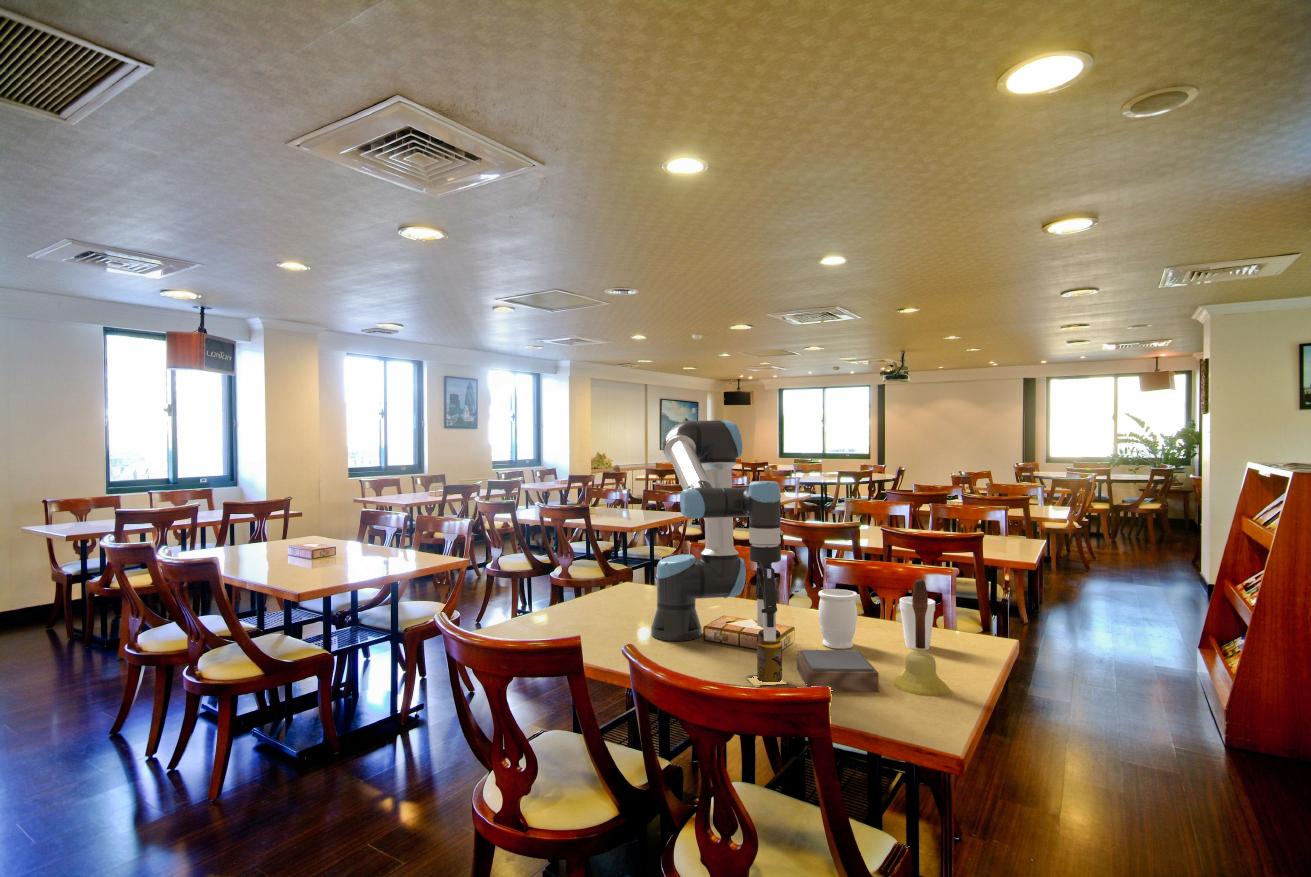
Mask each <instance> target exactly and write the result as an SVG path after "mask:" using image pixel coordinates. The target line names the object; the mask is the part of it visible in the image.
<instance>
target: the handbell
mask: <svg viewBox="0 0 1311 877" xmlns="http://www.w3.org/2000/svg"><path fill="white" fill-rule="evenodd" d="M911 595H912V596H911V597H912V605H913V610H914V613H915V637H916V647H915V649H913V651H911V652H909V653H908V654H907V655H906V657H905V664H904V665H905V670H904V672H902V673H901V674H900V675H899V676H897V677H896V678H895V679H894V681H893V683H892V684H893V686H894V687H895V688H896V689H897V690H900V691H902V692H904V693H908V694H911V695H916V696H926V697H937V696H943V695H946V694H948V693H949V692H950V689H949V686H948V685H947V683H945V681H943V680H942V679H941V678H940V677H939V676H938V674H937V665H936V664H937V663H936V659H935V657H934V656H933V655H932V654H930V653H929V652H928V650H926V648H925V615H926V612H927V608H928V599H929V598H928V590H927V586H926V581H925V580H923V579H915V580H914V583H913V589H912V593H911Z"/></svg>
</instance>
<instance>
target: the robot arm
mask: <svg viewBox="0 0 1311 877" xmlns="http://www.w3.org/2000/svg"><path fill="white" fill-rule="evenodd" d="M662 450H663V453H664V454H663V455H664V457H665V459H666V460H667V461H668V462H669V463H671V464H672V467H673V469H674V471H675V474H676V477H677V479H678V481H679V483H680V486H681V488H682V490H681V491H680V495H679V496H680V499H679V507H680V513H681V515H682V516H683V517H684V518H686V519H696V520H700V519H704V533H705V534H704V536H705V539H704V541H705V547H704V549H703V550H702V551H701V552H700V559H697V558H696V557H695V555H693V554H677V555H676V554H675V555H671V556H667V557H664V558H662V559H660V560H659V561H658V563H657V565H656V574H655V575H656V576H655V577H656V611H655V614H654V617H653V620H652V623H651V627H650V628H651V636H652V637H653V638H655V639H657V640H661V641H669V642H685V641H691V640H695V639H699V637H701V636H702V625H701V622H700V618H699V615H698V612H697V609H696V600H698V599H717V598H718V599H719V598H722V599H727V598H732V597H733V598H734V597H738V596H739V595H740V594H741V593H742V592H743V590H744V587H745V583H746V575H747V573H746V572H747V570H746V569H747V568H746V563H745V561H744V558H742V557H740V556H739V551H738V550H736V548H735V547H734V518H748V521H749V522H748V523H749V525H748V526H749V527H748V538H749V540H748V543H749V544H751V545H750V546H749V560H750V561H751V562H753V563H756V566H757V567H756V569H755V570H756V586H755V594H756V620H757V621H756V623H757V624H756V625H757V627H763V629H764V641H776V630H777V621H776V620H777V617H776V615H777V612H778V607H777V593H776V580H775V579H776V578H775V574H776V571H775V568H773V565H772V564H773V563H775V564H776V563H779V562H781V561H782V548H781V546H780V544H781V536H783V534H784V531H783V530H781V498H782V495H781V486H780V483H779V482H777V481H774V480H773V481H772V480H771V481H770V480H758V481H757V480H755V481H753V480H752V481H751V482H750V483H749V486H743V487H733V482H732V481H733V480H732V476H733V475H732V470H733V468H734V467H735V466H736V464H737V459H738V458H739V459H740V458H741V457H742V454H743V439H742V434H741V432H740V429H739V427H738V425H737V424H736V423H735V422H733V421H730V420H723V419H719V420H685V421H684V420H683V421H681V422H678V423H676V424H675V425H674V426H673V427H671V428H670V429H669V431H667V433H666V435H665V436H664V439H663V443H662Z"/></svg>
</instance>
